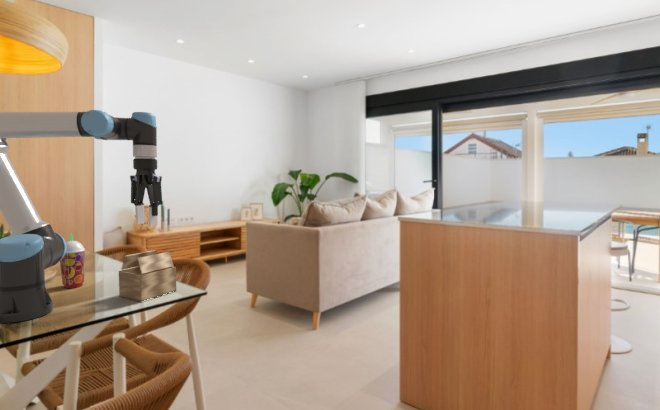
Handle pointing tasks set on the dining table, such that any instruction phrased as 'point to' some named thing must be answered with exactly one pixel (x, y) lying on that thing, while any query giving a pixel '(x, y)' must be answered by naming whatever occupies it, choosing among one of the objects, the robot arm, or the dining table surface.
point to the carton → (146, 283)
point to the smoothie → (73, 264)
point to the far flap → (135, 259)
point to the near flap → (155, 262)
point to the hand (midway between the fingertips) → (146, 224)
